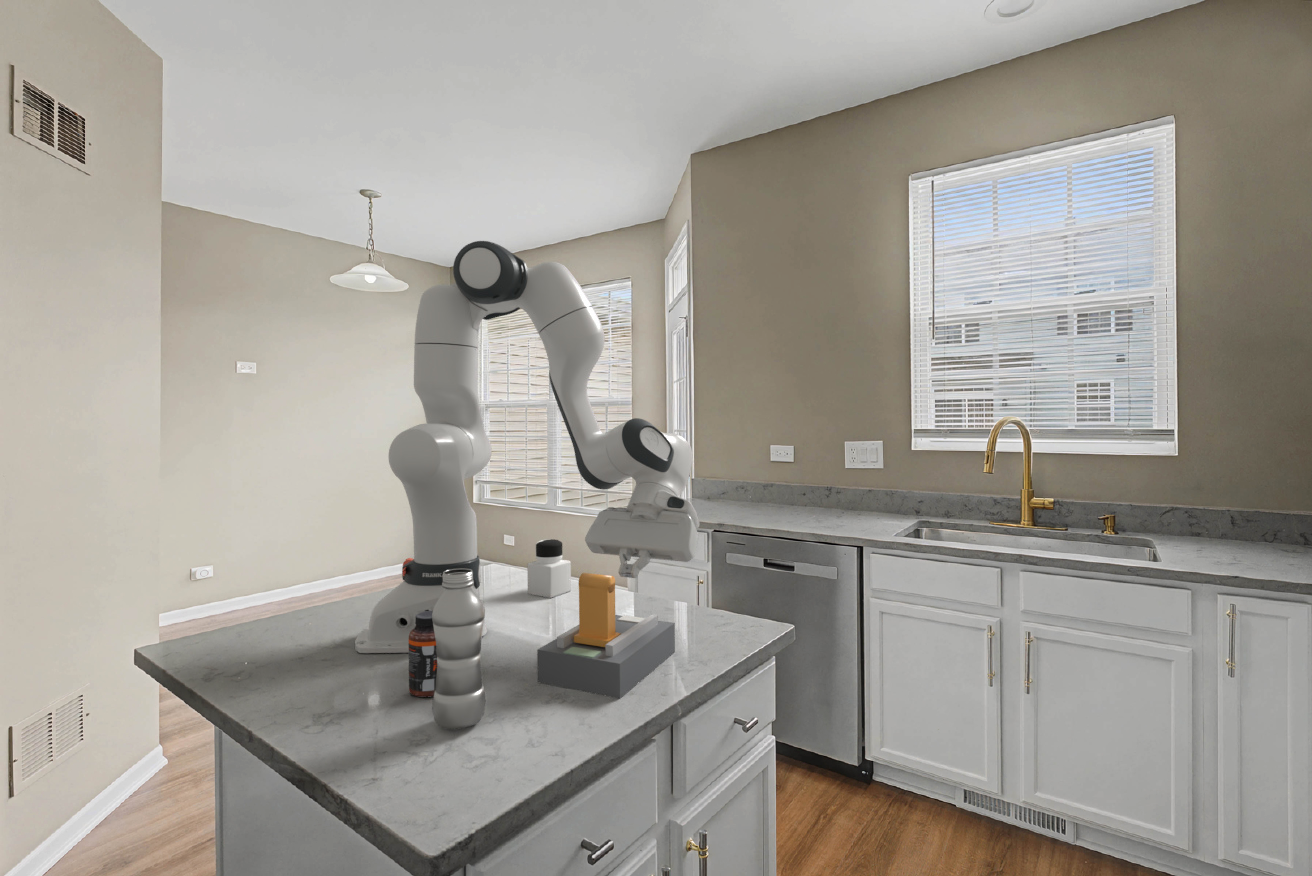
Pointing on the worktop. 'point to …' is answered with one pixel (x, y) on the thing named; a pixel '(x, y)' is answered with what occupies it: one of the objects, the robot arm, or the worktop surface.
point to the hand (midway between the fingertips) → (627, 575)
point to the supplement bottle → (422, 656)
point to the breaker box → (607, 657)
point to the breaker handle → (596, 610)
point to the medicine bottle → (549, 570)
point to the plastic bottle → (458, 652)
